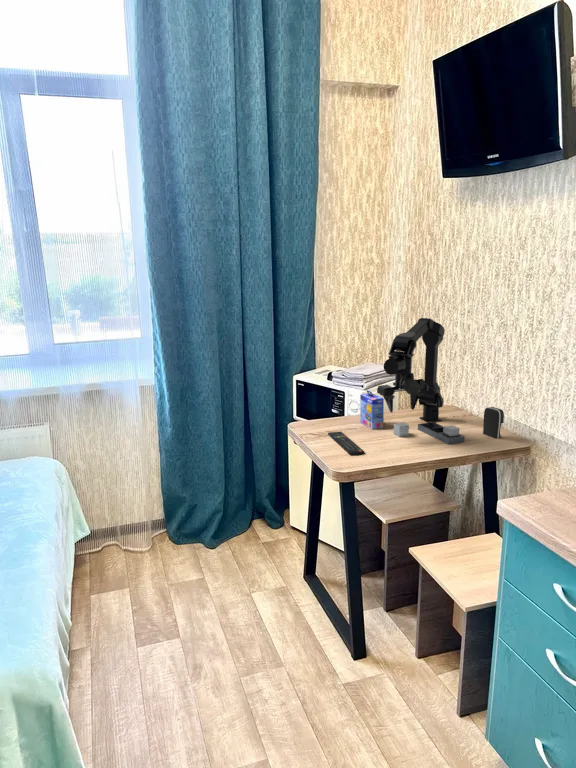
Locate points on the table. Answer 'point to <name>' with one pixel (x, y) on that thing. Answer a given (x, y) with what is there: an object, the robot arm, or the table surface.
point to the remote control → (346, 443)
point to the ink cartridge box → (371, 410)
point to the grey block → (401, 429)
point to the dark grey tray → (439, 433)
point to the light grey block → (451, 431)
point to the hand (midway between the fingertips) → (401, 410)
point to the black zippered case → (493, 421)
